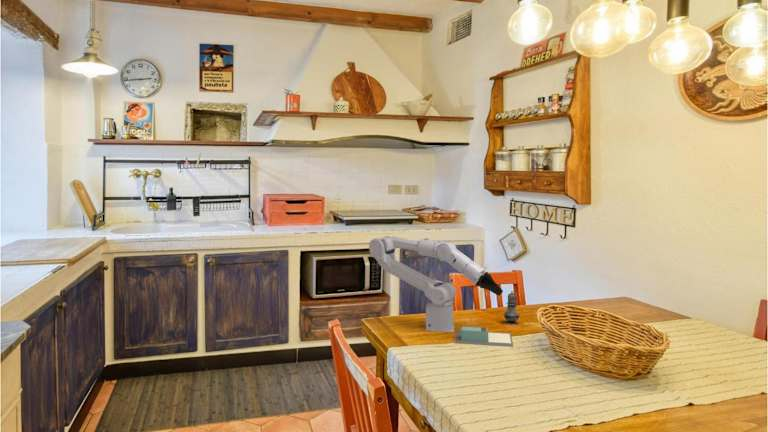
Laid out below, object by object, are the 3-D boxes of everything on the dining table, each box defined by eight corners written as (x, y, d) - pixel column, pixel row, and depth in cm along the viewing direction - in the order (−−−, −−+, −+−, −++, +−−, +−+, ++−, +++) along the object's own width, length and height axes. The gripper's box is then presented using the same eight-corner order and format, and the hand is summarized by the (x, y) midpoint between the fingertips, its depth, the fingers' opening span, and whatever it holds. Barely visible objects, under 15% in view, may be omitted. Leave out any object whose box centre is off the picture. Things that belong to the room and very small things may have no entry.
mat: (454, 344, 156) (454, 342, 156) (456, 331, 170) (456, 329, 169) (513, 348, 152) (513, 346, 152) (510, 335, 166) (510, 332, 166)
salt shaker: (513, 326, 175) (513, 293, 175) (499, 323, 180) (500, 290, 179) (523, 323, 179) (523, 291, 178) (509, 320, 184) (510, 288, 183)
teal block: (461, 340, 158) (461, 329, 158) (461, 336, 162) (461, 326, 162) (486, 342, 157) (487, 331, 157) (486, 338, 161) (486, 327, 160)
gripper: (471, 255, 160) (506, 281, 155) (477, 260, 173) (509, 284, 168) (458, 272, 160) (492, 299, 155) (465, 276, 174) (496, 301, 169)
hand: (500, 292), depth 162 cm, fingers open, 7 cm apart
